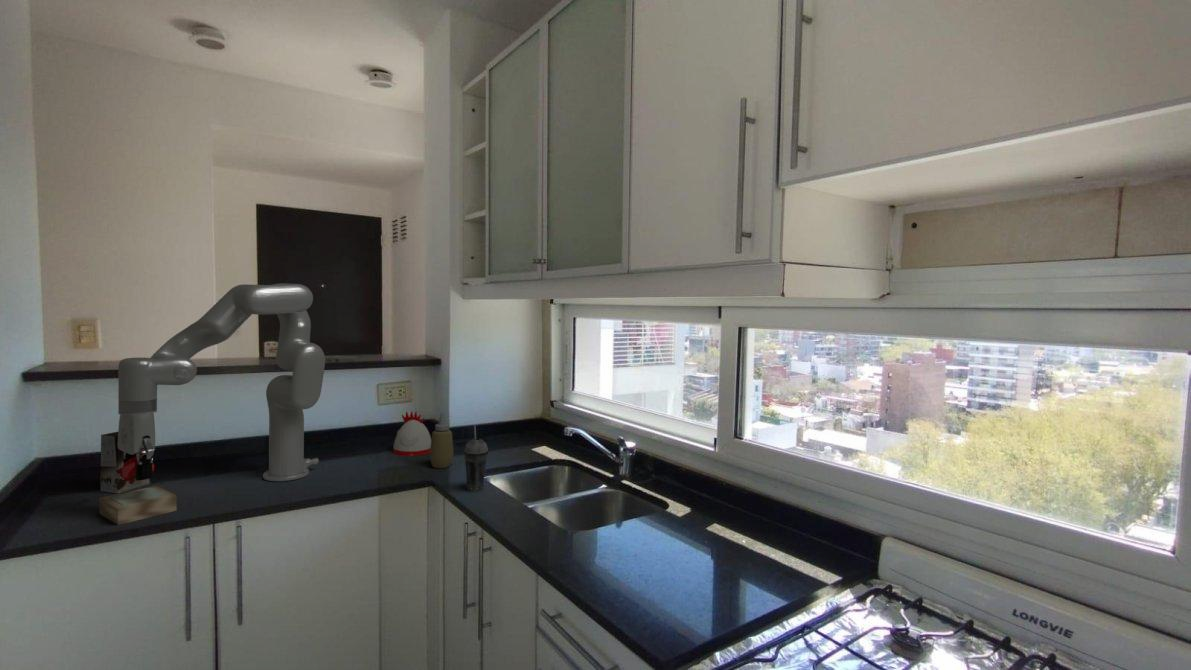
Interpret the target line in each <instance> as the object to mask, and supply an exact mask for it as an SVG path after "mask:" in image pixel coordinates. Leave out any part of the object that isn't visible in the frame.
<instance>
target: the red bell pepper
mask: <svg viewBox="0 0 1191 670" xmlns="http://www.w3.org/2000/svg"><path fill="white" fill-rule="evenodd" d="M142 457H143V456H141V459H142ZM137 464H138V462H137V457H133V458H131V459H129V460H128V461H126V462H125V463H124V465H123V467H122V469H121V470H120V475H121V477H122V478H123V479H125V480H126V481H129V482H132V481H133V479H131V478H130V477H131V476H135V475H136V465H137ZM154 471H155V464H154V462H153V463H152V475H153V474H154V473H153V472H154Z"/></svg>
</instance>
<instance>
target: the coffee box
mask: <svg viewBox="0 0 1191 670" xmlns="http://www.w3.org/2000/svg"><path fill="white" fill-rule="evenodd" d="M141 451H145V450H139V452H141ZM123 454H124V452H123V451H121V450H119V449H118V431H115V432H108V433H104V434H100V492H105V493H110V494H121V493H125V492H129V491H132V490H134V489H137V488H141V487H144V486H147V485H150V479H145V480H140V481H137V480H136V475H135V476H131V477H130V478H131V479H133V481H132V482H129V481H126V480H125V479H123V478H122V477H121V475H120V470H121V469H122V467H123V459H126V458H123ZM144 455H145V454H144ZM141 456H143V455H141Z"/></svg>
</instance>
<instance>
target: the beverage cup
mask: <svg viewBox="0 0 1191 670" xmlns="http://www.w3.org/2000/svg"><path fill="white" fill-rule="evenodd" d="M476 427H477V426H476V424H473V434H474V435H473V437H474V438H472V439H470V440H468V442H466V444H465V447H464V450H463V455H464V460H465V461H464V462H465V475H466V487H467V492H471V493H479V492H482V491H483V488H484V483H485V473H486V466H487V458H488V455H489V448H488V444H487V443H486V442H485V441H484V440H483V439H481V438H478V437H477V431H476V430H477V428H476ZM481 487H482V488H481ZM471 488H472V489H471ZM476 488H478V489H476Z"/></svg>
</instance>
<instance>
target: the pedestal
mask: <svg viewBox="0 0 1191 670" xmlns="http://www.w3.org/2000/svg"><path fill="white" fill-rule="evenodd" d="M177 497H178V495H177V494H175V493H173V492H171V491H168V490H166V489H164V488H162V487H160V486H158V485H154V486H150V487H145V488H140V489H136V490H129V491H125V492H121V493H115V494H112V495H108V496H102V497H99V498H98V501H99V505H98V507H99V508H98V509H99V512H98V513H99V514H100V516H102V517H104V518H106V519H107V520H109V521H111V522H112V523H114V524H115V525H117V526H120V525H124V524H128V523H133V522H136V521H139V520H145V519H148V518H151V517H157V516H160V515H164V514H168V513H172V512H177V509H178V508H177V507H178V506H177V505H178V504H177V503H178V502H177V501H178V500H177Z"/></svg>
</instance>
